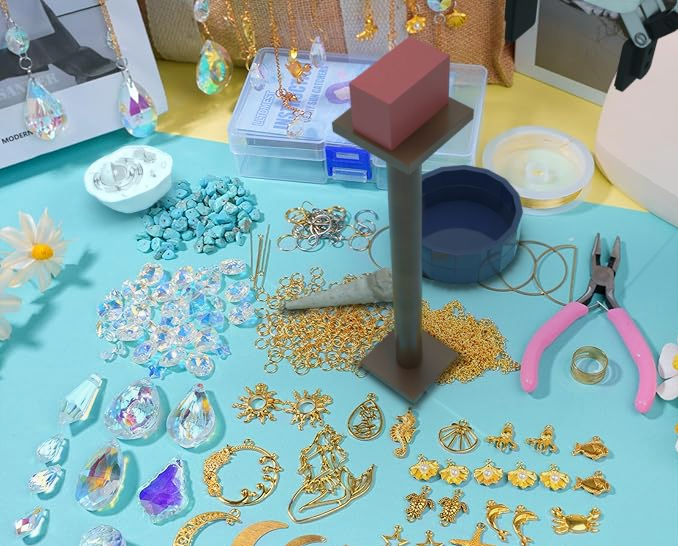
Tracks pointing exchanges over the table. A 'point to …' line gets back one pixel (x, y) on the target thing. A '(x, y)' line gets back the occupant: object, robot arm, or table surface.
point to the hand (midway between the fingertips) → (572, 55)
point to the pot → (468, 224)
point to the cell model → (130, 178)
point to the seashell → (351, 292)
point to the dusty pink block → (400, 92)
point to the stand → (408, 253)
